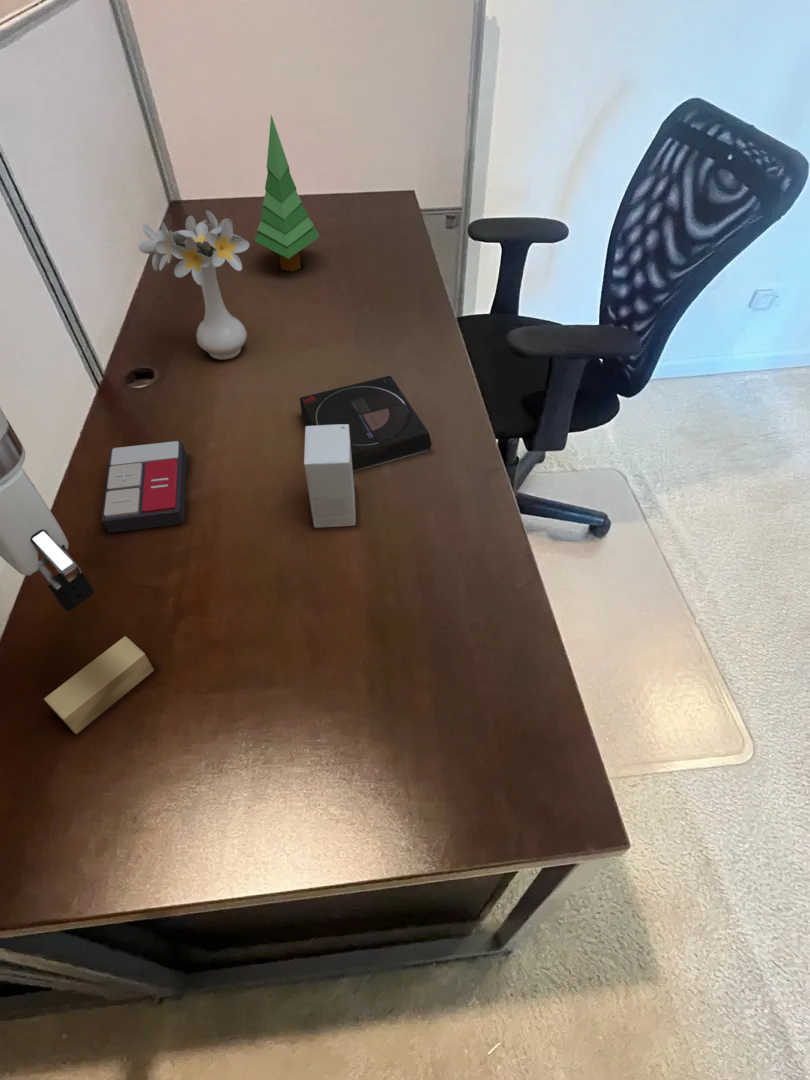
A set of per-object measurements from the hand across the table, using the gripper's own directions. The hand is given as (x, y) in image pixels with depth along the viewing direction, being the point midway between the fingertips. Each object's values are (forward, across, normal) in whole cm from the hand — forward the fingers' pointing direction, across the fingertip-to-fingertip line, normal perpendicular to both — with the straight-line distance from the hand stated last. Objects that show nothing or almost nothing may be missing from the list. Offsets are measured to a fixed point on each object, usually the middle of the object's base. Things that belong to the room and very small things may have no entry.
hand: (52, 577), depth 69 cm
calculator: (+19, -22, +22) cm, 36 cm away
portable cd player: (+19, -6, +54) cm, 57 cm away
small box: (+19, +2, +38) cm, 42 cm away
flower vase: (+19, -42, +54) cm, 71 cm away
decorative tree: (+19, -56, +86) cm, 105 cm away
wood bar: (+19, +2, -2) cm, 19 cm away
